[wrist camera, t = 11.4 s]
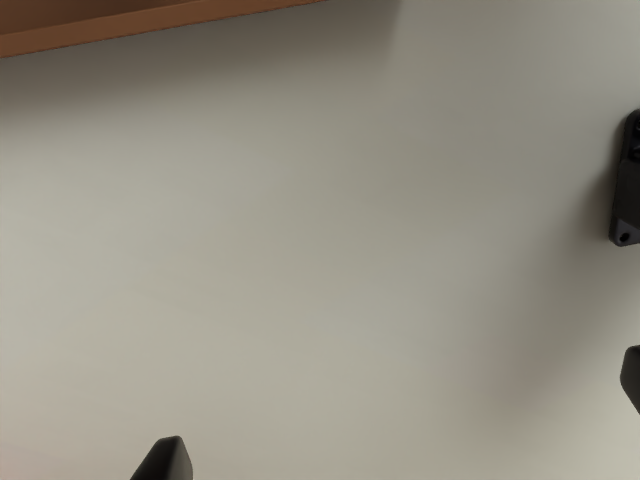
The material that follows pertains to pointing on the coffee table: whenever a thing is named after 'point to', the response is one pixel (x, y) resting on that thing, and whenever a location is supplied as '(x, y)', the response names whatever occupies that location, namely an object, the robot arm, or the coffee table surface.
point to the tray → (109, 19)
